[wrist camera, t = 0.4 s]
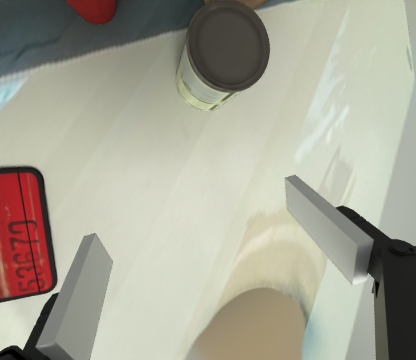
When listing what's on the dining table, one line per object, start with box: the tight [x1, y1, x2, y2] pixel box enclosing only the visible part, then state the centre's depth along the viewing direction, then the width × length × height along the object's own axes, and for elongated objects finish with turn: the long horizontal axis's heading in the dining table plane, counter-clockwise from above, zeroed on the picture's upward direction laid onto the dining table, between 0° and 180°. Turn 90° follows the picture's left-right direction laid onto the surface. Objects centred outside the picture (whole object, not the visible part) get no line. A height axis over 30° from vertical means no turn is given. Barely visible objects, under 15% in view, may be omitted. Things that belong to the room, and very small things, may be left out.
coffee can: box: [176, 0, 270, 111], centre depth 34 cm, size 10×10×14 cm
